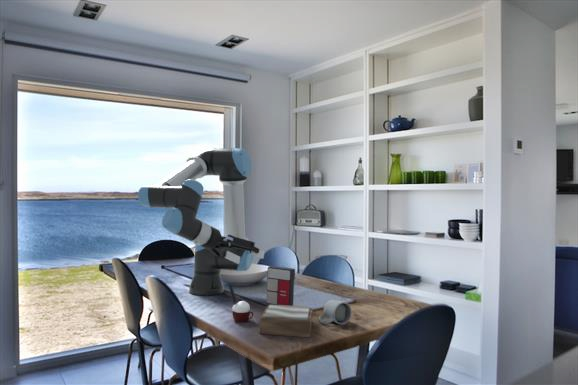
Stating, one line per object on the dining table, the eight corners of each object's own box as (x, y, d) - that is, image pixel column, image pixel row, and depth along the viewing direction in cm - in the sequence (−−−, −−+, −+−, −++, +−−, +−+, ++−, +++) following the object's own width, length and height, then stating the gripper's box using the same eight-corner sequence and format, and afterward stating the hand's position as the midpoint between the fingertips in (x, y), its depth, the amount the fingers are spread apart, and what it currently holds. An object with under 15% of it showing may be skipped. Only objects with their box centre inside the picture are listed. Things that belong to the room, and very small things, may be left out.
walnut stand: (267, 319, 147) (267, 303, 147) (311, 322, 145) (312, 306, 145) (259, 333, 131) (260, 316, 131) (309, 337, 129) (310, 319, 130)
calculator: (265, 304, 168) (266, 267, 169) (270, 301, 172) (271, 265, 172) (289, 308, 163) (290, 270, 163) (293, 305, 167) (295, 268, 167)
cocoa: (255, 322, 144) (258, 288, 144) (241, 325, 139) (245, 290, 140) (237, 315, 150) (240, 282, 151) (223, 318, 146) (227, 284, 146)
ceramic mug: (337, 317, 153) (338, 296, 153) (351, 323, 146) (352, 301, 146) (314, 321, 148) (314, 299, 148) (327, 327, 140) (327, 305, 141)
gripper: (182, 251, 147) (227, 271, 159) (225, 239, 131) (272, 262, 143) (187, 232, 150) (231, 253, 163) (230, 218, 134) (276, 243, 147)
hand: (251, 257), depth 153 cm, fingers open, 13 cm apart
